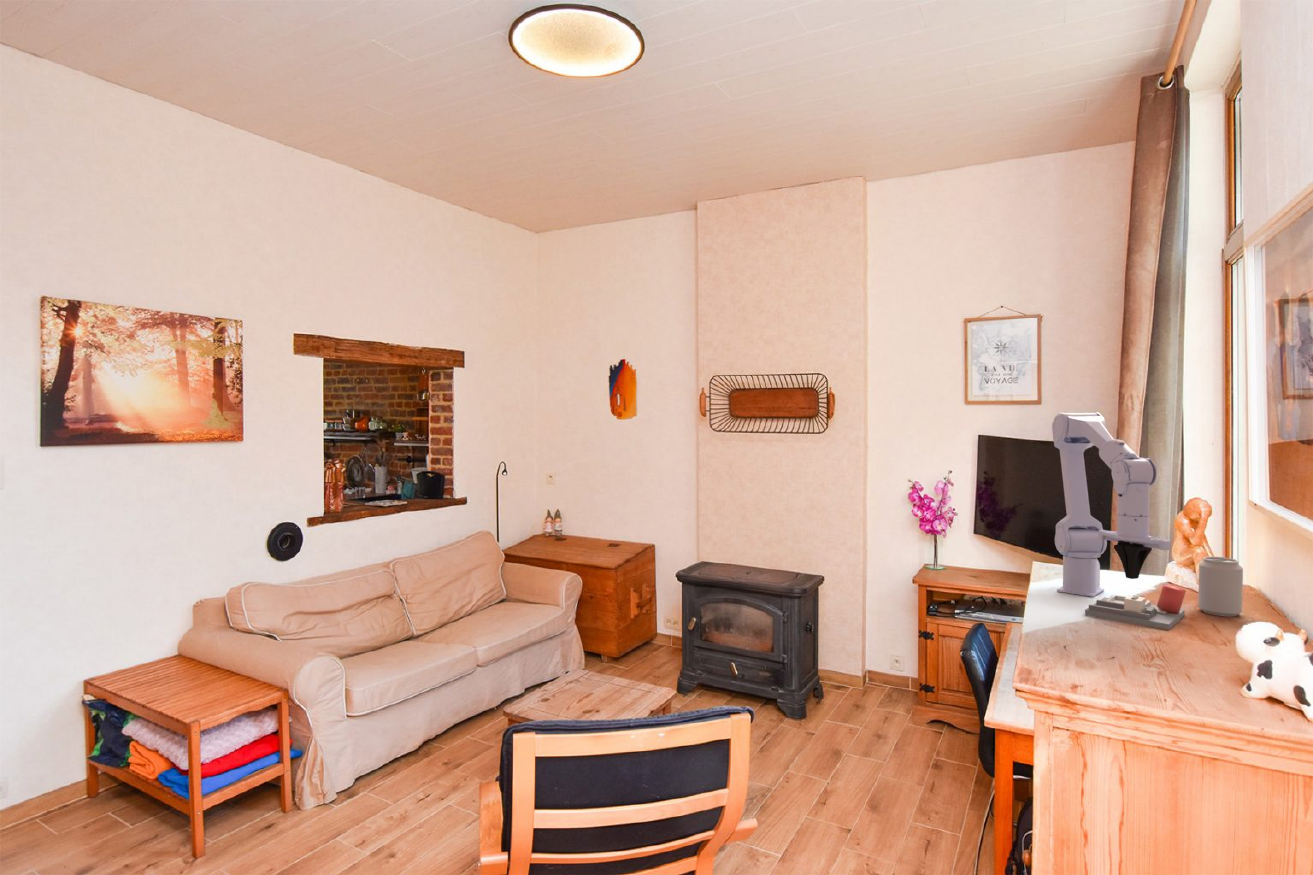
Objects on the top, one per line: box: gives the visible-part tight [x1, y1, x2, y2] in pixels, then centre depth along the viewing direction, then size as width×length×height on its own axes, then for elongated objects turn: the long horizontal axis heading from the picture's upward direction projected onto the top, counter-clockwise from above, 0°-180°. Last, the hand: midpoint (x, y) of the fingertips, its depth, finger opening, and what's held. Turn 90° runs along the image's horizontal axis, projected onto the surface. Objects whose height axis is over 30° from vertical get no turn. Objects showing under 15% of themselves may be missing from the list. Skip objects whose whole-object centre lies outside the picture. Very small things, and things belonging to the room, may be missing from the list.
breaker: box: [1124, 595, 1147, 613], centre depth 149 cm, size 4×3×3 cm
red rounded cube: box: [1156, 583, 1187, 614], centre depth 150 cm, size 4×4×5 cm
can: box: [1197, 556, 1244, 618], centre depth 154 cm, size 8×8×12 cm
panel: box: [1084, 594, 1185, 631], centre depth 152 cm, size 15×15×3 cm
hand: (1132, 577), depth 151 cm, fingers closed
